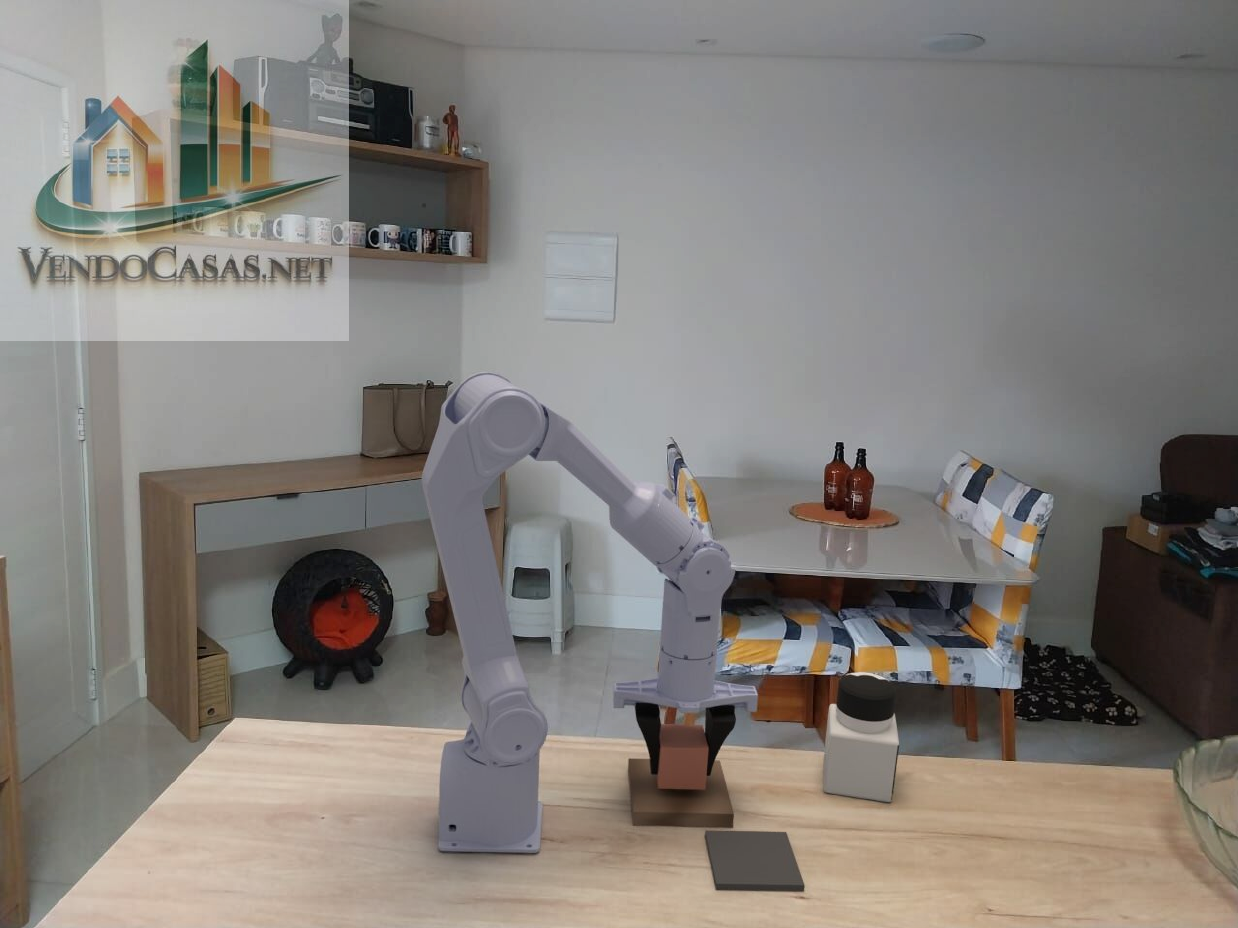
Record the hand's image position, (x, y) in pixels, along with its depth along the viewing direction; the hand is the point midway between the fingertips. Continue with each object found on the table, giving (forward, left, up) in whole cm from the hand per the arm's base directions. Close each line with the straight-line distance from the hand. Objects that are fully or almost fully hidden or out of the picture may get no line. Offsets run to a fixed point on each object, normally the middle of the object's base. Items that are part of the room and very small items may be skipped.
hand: (679, 769), depth 100 cm
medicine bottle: (+20, +4, -3) cm, 21 cm away
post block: (0, 0, -3) cm, 3 cm away
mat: (+6, -10, -3) cm, 13 cm away
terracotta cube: (0, 0, -1) cm, 1 cm away
